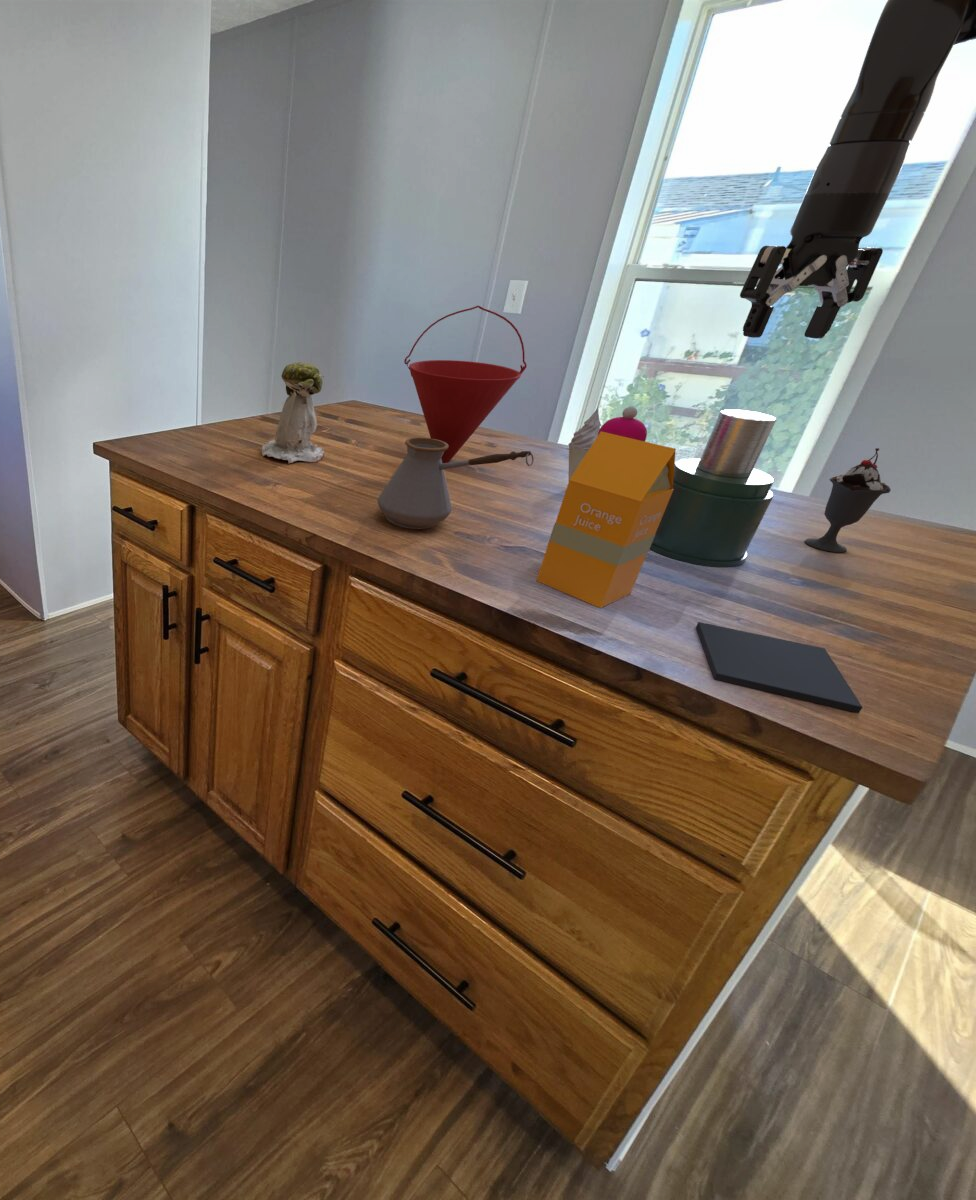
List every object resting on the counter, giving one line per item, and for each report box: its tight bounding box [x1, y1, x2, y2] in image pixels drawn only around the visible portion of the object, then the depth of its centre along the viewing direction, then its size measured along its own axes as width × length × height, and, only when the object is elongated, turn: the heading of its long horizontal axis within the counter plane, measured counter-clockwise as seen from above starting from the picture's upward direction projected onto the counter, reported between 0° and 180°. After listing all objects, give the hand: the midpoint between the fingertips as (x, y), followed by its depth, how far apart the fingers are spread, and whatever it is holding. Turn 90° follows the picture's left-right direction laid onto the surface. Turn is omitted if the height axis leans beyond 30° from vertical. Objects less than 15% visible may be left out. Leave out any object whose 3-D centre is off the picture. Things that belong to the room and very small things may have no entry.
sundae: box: [804, 447, 892, 554], centre depth 97 cm, size 7×7×15 cm
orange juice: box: [536, 432, 677, 609], centre depth 83 cm, size 8×9×20 cm
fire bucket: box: [403, 305, 528, 463], centre depth 124 cm, size 22×20×30 cm
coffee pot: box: [377, 437, 535, 530], centre depth 100 cm, size 21×12×15 cm, turn 44°
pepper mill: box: [597, 406, 648, 442], centre depth 98 cm, size 7×7×20 cm
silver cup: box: [697, 409, 777, 478], centre depth 92 cm, size 6×6×8 cm
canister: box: [649, 458, 775, 568], centre depth 97 cm, size 14×14×12 cm
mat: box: [695, 621, 863, 714], centre depth 72 cm, size 12×12×1 cm
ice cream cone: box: [567, 407, 602, 484], centre depth 118 cm, size 5×5×15 cm
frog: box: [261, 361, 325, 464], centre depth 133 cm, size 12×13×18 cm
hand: (782, 337), depth 85 cm, fingers open, 8 cm apart
